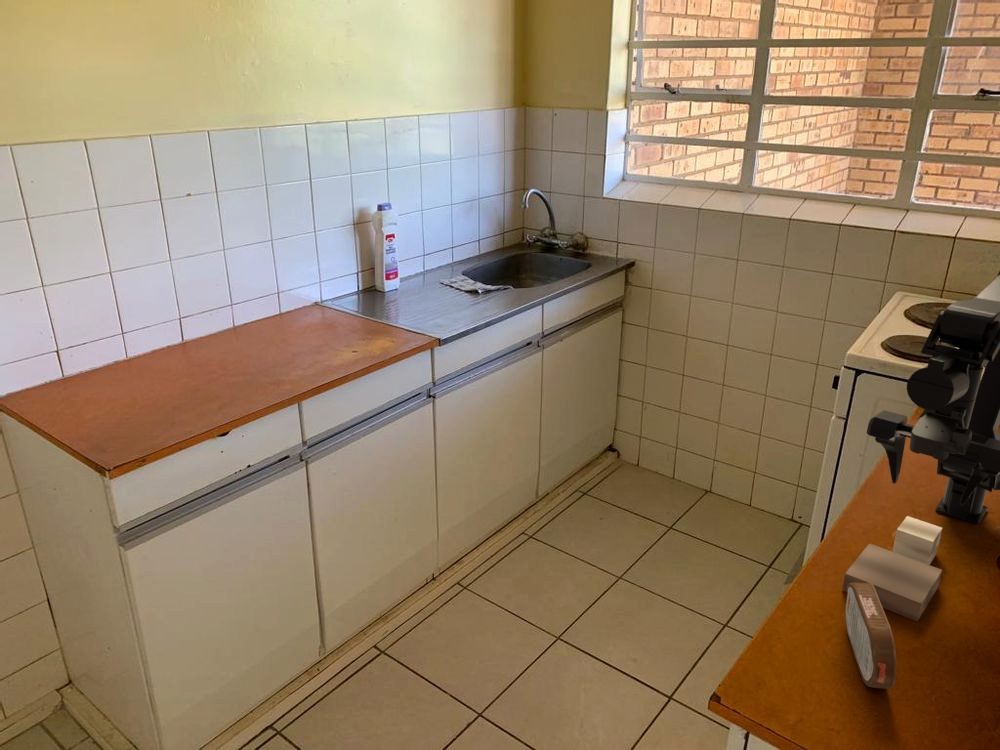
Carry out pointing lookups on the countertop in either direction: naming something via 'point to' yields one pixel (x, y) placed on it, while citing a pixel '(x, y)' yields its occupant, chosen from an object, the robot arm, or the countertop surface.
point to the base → (895, 580)
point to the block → (917, 540)
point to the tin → (870, 636)
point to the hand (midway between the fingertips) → (927, 493)
